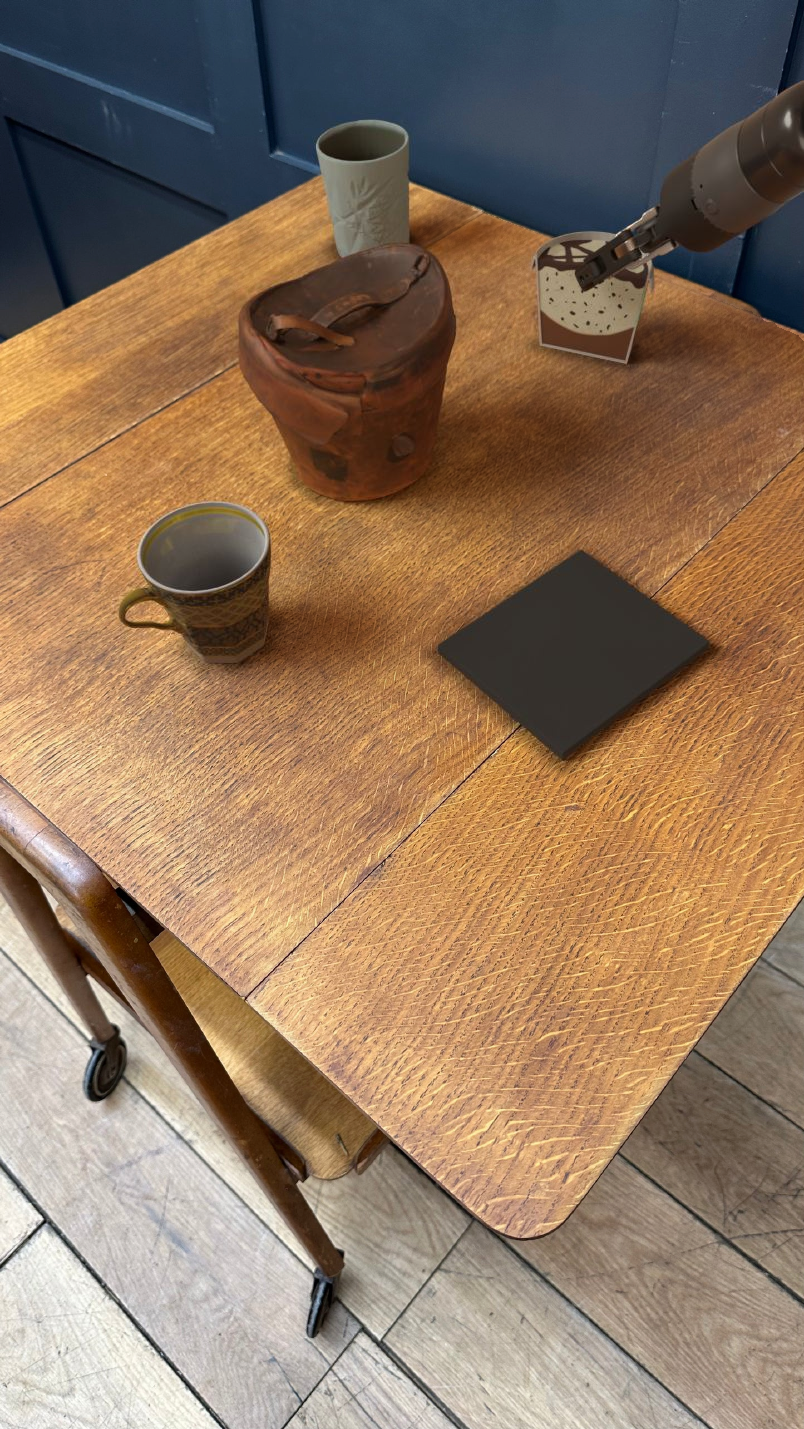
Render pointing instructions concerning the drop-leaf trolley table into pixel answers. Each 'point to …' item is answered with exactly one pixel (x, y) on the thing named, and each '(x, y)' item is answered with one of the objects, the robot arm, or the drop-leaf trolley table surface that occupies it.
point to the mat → (572, 652)
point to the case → (354, 367)
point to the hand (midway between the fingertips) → (611, 264)
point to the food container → (587, 299)
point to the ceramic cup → (208, 578)
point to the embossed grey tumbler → (366, 183)
